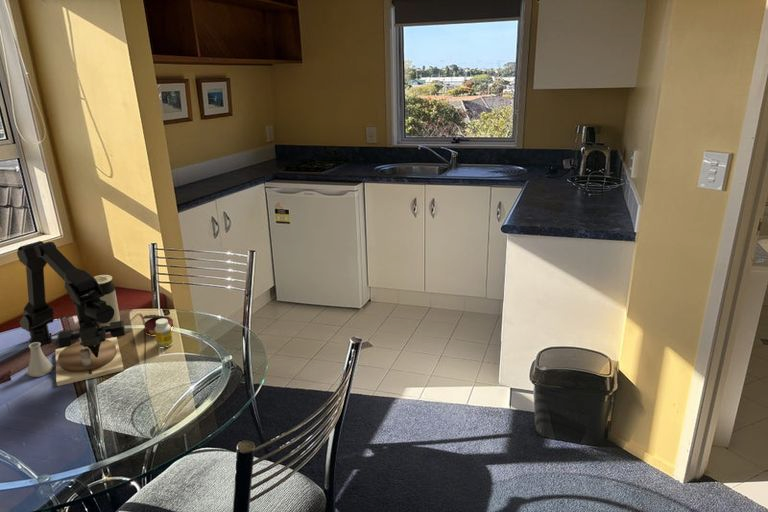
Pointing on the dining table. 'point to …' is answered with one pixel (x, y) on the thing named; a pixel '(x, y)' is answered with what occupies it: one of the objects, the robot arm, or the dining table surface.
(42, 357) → the flask
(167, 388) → the dining table surface
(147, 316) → the dark red handled pot
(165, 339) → the supplement bottle
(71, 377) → the stand
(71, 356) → the knobbed disc on base
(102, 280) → the travel mug
